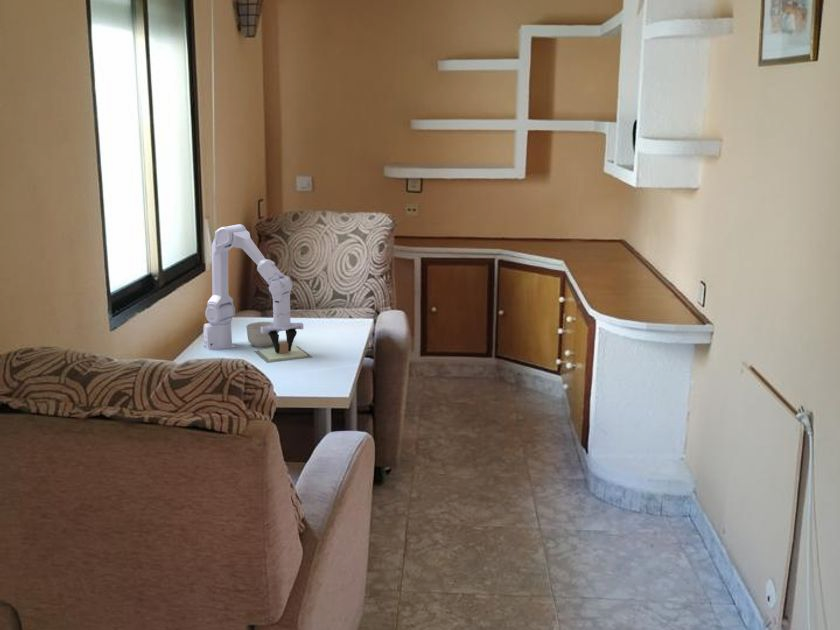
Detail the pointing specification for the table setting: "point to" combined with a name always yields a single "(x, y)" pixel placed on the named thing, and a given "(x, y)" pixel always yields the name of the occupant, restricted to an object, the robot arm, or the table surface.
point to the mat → (284, 359)
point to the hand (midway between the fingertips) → (282, 351)
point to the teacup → (259, 334)
